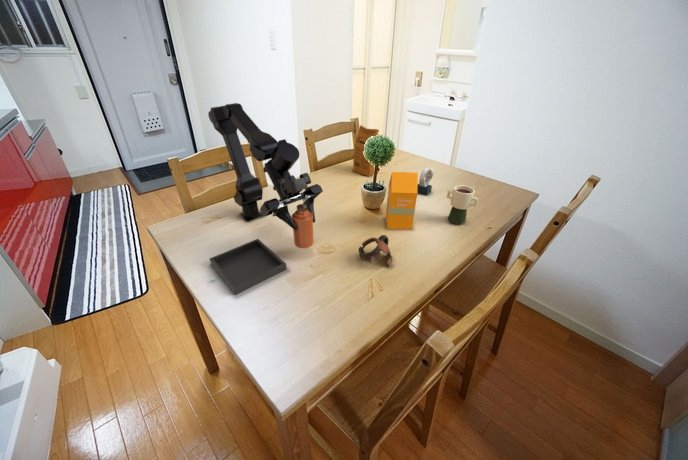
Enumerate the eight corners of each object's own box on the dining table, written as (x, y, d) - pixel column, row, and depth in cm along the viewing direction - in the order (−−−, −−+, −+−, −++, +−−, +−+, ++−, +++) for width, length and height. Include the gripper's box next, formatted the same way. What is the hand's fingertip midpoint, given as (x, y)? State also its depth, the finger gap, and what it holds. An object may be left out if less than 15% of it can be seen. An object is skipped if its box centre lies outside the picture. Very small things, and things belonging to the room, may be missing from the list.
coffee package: (363, 165, 159) (365, 122, 147) (381, 172, 151) (384, 127, 139) (349, 170, 153) (350, 126, 141) (367, 178, 145) (370, 131, 133)
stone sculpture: (432, 190, 135) (437, 167, 129) (425, 197, 129) (429, 172, 123) (421, 187, 137) (424, 164, 131) (413, 193, 132) (416, 169, 126)
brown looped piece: (389, 275, 88) (376, 256, 84) (363, 275, 94) (350, 257, 90) (401, 245, 95) (390, 226, 91) (376, 247, 101) (365, 229, 97)
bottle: (290, 245, 90) (286, 209, 83) (299, 235, 95) (297, 199, 88) (308, 250, 88) (306, 213, 81) (317, 239, 93) (315, 203, 86)
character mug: (474, 222, 112) (483, 190, 105) (467, 230, 108) (476, 197, 101) (445, 212, 118) (452, 182, 111) (438, 220, 113) (445, 188, 106)
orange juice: (385, 217, 114) (390, 167, 103) (408, 218, 114) (416, 168, 103) (387, 229, 108) (392, 176, 97) (411, 229, 107) (420, 177, 96)
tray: (211, 265, 90) (209, 258, 88) (259, 245, 98) (257, 238, 97) (236, 296, 79) (234, 288, 78) (286, 271, 88) (286, 263, 86)
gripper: (259, 174, 76) (287, 229, 75) (318, 157, 86) (343, 206, 85) (249, 191, 85) (274, 241, 84) (303, 175, 95) (326, 218, 95)
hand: (305, 226), depth 87 cm, fingers closed on bottle, 6 cm apart
